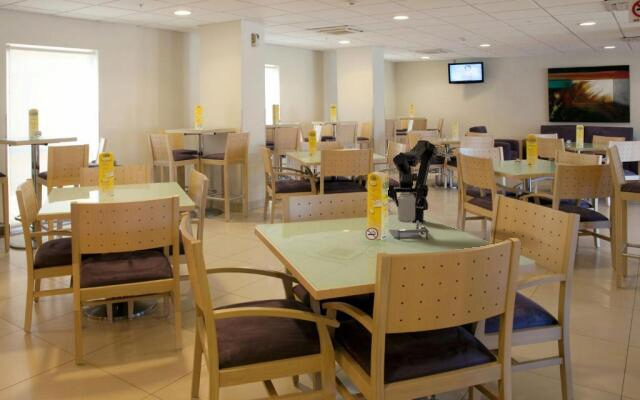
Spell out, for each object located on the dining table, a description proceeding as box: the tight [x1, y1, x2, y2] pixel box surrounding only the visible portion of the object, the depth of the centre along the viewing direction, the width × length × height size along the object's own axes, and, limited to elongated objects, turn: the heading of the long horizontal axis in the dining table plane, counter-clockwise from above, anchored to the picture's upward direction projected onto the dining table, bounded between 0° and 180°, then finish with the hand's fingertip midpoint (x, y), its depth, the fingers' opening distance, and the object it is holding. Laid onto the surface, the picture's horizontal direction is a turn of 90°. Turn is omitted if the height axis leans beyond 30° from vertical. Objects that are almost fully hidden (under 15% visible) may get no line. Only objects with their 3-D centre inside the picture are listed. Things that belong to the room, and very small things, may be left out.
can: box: [397, 192, 416, 223], centre depth 240 cm, size 8×8×12 cm
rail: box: [396, 220, 429, 240], centre depth 243 cm, size 20×13×4 cm, turn 2°
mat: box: [388, 229, 423, 239], centre depth 242 cm, size 14×12×1 cm
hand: (406, 206), depth 239 cm, fingers closed on can, 7 cm apart
